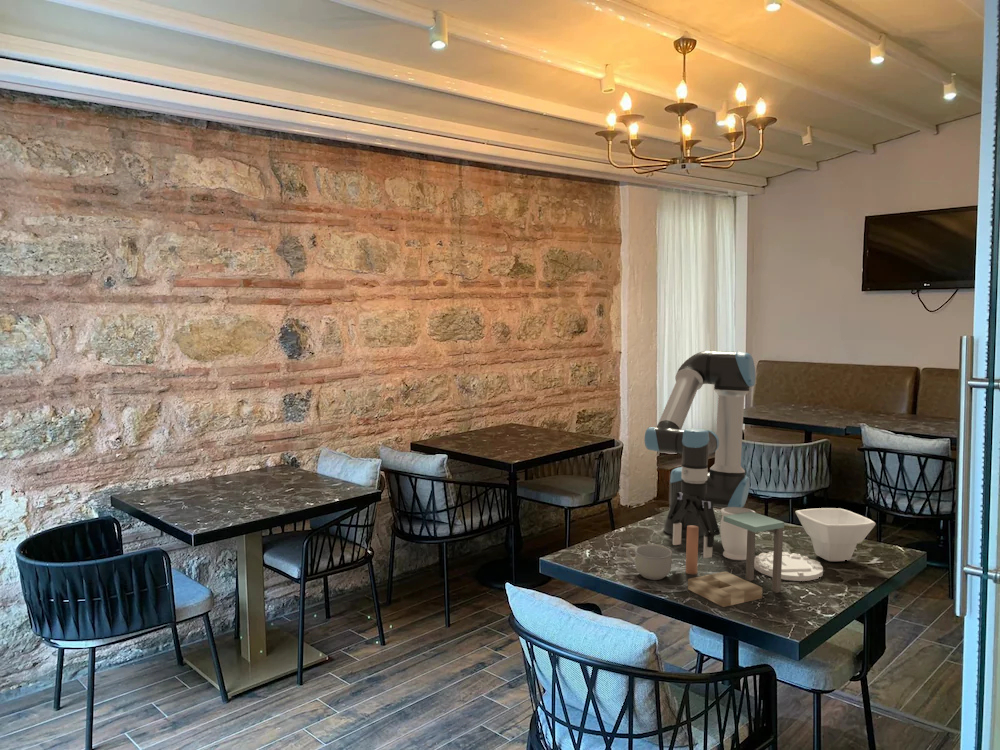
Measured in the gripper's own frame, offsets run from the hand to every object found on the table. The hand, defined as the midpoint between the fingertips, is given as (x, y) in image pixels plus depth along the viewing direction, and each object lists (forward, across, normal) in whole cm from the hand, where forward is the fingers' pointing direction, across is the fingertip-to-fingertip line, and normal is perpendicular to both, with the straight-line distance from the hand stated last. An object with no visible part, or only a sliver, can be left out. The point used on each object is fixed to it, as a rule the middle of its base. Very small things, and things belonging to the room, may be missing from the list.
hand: (691, 550), depth 221 cm
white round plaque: (+7, +11, +28) cm, 31 cm away
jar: (+7, -5, +23) cm, 25 cm away
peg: (+7, 0, 0) cm, 7 cm away
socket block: (+7, +17, -3) cm, 18 cm away
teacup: (+7, -4, -13) cm, 15 cm away
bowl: (+7, +10, +49) cm, 51 cm away
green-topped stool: (+7, +17, +7) cm, 20 cm away
